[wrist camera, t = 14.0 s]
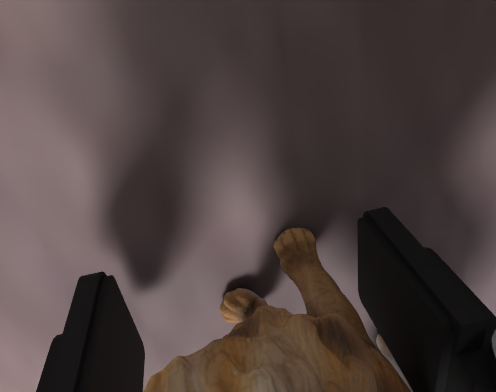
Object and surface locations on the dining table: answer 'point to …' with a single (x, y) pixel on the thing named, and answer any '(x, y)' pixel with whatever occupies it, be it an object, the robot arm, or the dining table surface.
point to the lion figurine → (288, 340)
